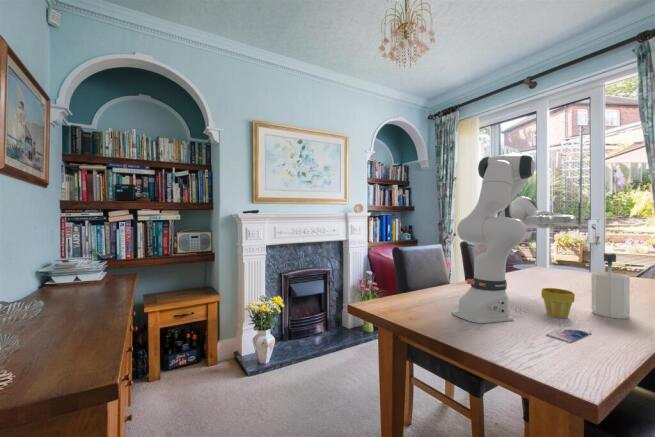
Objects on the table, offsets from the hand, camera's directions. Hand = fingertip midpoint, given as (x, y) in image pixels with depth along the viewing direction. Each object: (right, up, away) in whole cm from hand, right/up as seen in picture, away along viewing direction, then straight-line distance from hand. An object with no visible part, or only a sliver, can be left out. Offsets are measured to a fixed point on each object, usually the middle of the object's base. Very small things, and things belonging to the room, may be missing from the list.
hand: (562, 219), depth 136 cm
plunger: (+5, -35, -18) cm, 40 cm away
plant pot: (-16, -38, -18) cm, 45 cm away
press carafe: (+7, -38, -17) cm, 42 cm away
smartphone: (-28, -39, -38) cm, 60 cm away
